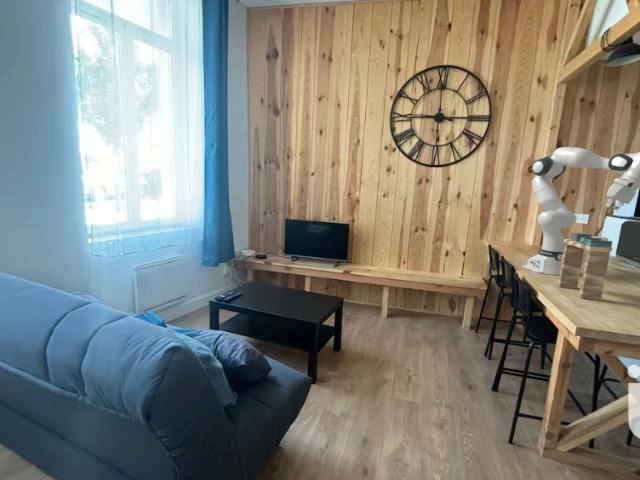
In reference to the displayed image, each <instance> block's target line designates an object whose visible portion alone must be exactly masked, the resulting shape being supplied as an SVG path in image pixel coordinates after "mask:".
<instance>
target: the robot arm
mask: <svg viewBox="0 0 640 480" xmlns="http://www.w3.org/2000/svg"><path fill="white" fill-rule="evenodd" d="M567 167H571V168H582V169H596V170H603V171H609V172H614V173H617V174H619V175H621V176H619V177H616V178H615V179H614V180H613V183H612V185H610V187H609V188H608V191H607V192H606V197H608V199H607V203H606V204H605V206H606V207H607V208H611V207H612V204H613V203H614V201H618V203H617V204H616V205H614V207H613V209H614V210H616V211H619V209H620V208H621V207H623V206H624V205H625V204H627V205H628V204H630V203H631V202H632V200H633V199H634V197H635V195H636V194H637V191H638V189H639V188H640V151H638V152H635V153H622V152H621V153H616V154H615V155H613V156H612V157H610V158H607V157H603V156H600V155H599V154H596V153H594V152H593V151H590V150H588V149H585V148H582V147H574V146H565V147H564V146H562V147H558V148H556V149H555V150H554V151H553V153H552V156H548V155H547V156H545V157H541V158H539V159H537V160H535V161H534V162H533V163H532V164H531V172H532V173H533V174H534V175H535V177H534V178H533V179H532V180H531V186H532V191H533V193H534V195H535V198H536V200H537V202H538V205H539V206H540V208H542V209H543V210H545V211H542V212H541V213H539V215H538V217H537V222H538V224H539V226H540V227H541V229H542V245H541V248H539V249H538V248H537V252H538V253H537V254H535V255H534V256H531V257H529V258H528V260H527V263H526V264H523V265H522V268H525V269H527V270H529V271H532V272H535V273H537V274H545V275H546V274H547V275H554V276H555V275H556V276H559V275H560V269H561V263H562V256H563V250H564V244H565V243H564V239H565V237H564V236H563V234H562V230H561V229H566V228H570V227H572V226H574V225H575V223H576V221H577V217H576V214H575V213H574V212H572V211H571V210H570V209H569V208H568V207H567V206H566V205H565V204H564V202H563V201H562V200H561V198H560V196H559V195H558V192H557V190H556V188H555V186H554V183H553V180H557V179H558V178H559V177H561V176H562V175H563V174H564V173H565V172H566V170H567Z"/></svg>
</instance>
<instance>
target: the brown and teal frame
mask: <svg viewBox="0 0 640 480" xmlns="http://www.w3.org/2000/svg"><path fill="white" fill-rule="evenodd" d="M612 246H613V241H612V240H608V241H601V238H583V237H580V242H576V241H572V240H570V238H567V239H566V238H564V246H563V256H562V261H561V269H560V275H558V282H557V287H558V288H561V289H562V288H563V289H576V290H577V289H578V286H579V280H580V275H581V269H582V264H583V258H584V252H585V250H586V256H585V262H584V269H583V273H582V278H581V279H582V280H581V284H580V289H579V294H578V299H581V300H593V301H602V297H603V291H604V287H605V280H606V276H607V270H608V265H609V260H610V256H611V252H612V251H613V247H612Z"/></svg>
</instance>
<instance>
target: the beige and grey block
mask: <svg viewBox="0 0 640 480" xmlns="http://www.w3.org/2000/svg"><path fill="white" fill-rule="evenodd" d="M580 237H583V238H601V241H609V237H606V236H594V235H593V234H592V233H587V232H576V231H575V232H574V231H573V232H570V237H569V239H570V240H572V241H576V242H580Z"/></svg>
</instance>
